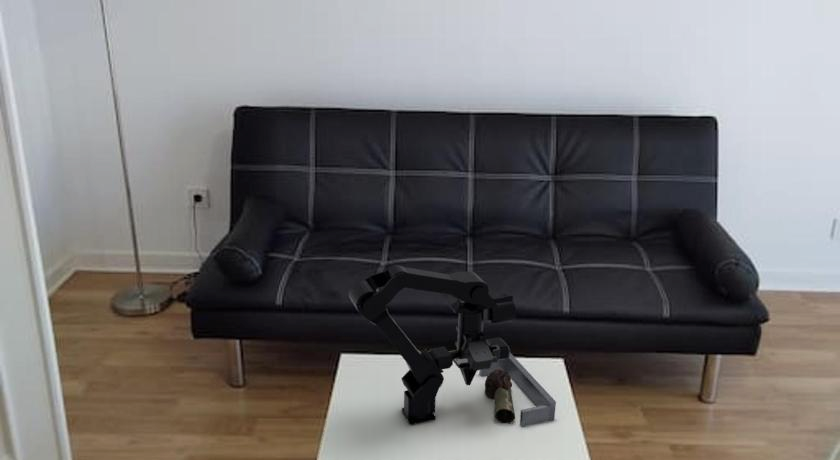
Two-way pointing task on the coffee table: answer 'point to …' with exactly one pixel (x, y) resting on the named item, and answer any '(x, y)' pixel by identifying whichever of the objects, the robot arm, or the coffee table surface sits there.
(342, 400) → the coffee table surface
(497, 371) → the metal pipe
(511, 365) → the grey u-shaped bracket
